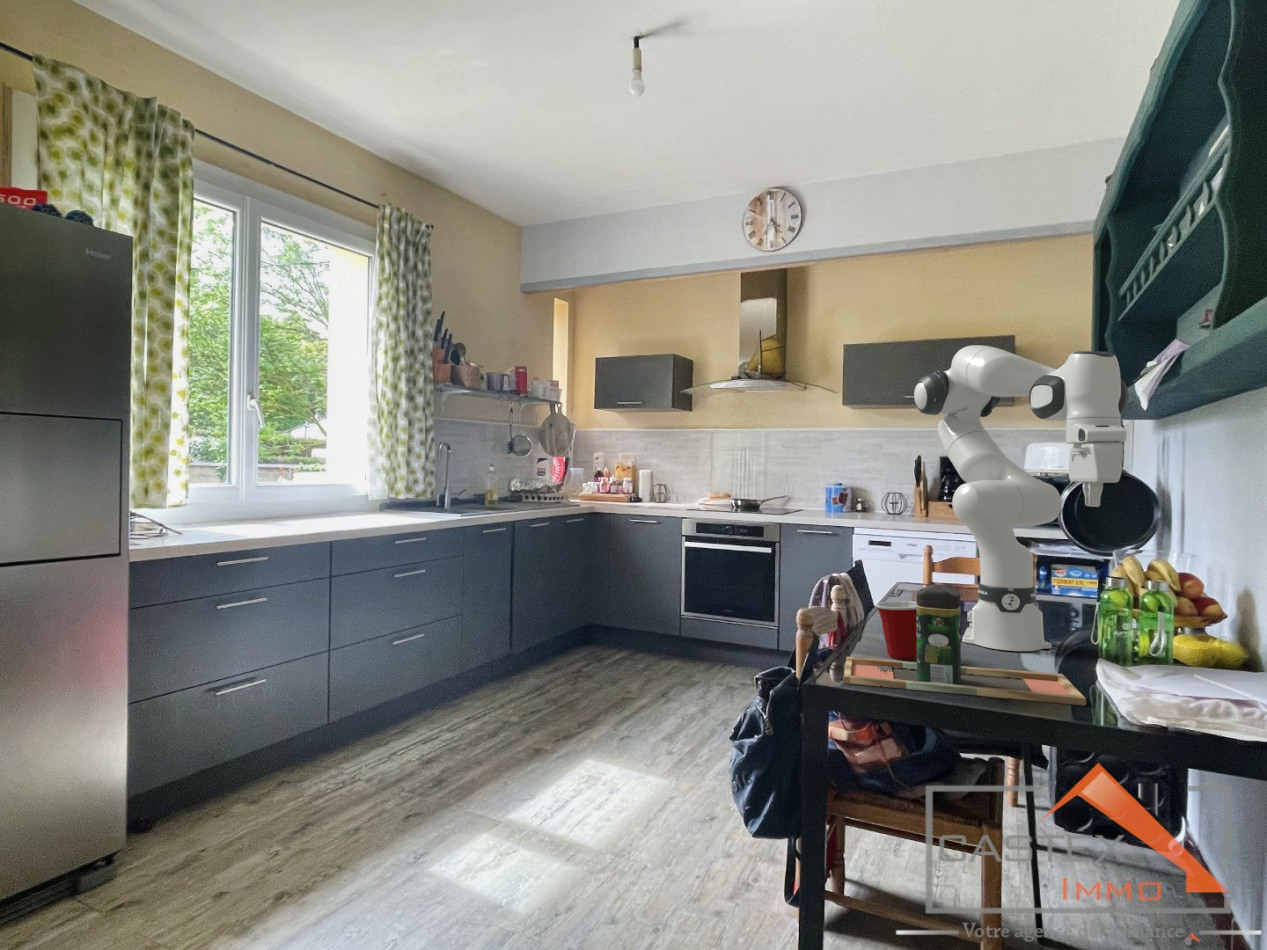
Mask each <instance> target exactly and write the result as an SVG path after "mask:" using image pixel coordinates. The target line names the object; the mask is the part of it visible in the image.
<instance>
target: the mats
mask: <svg viewBox="0 0 1267 950" xmlns="http://www.w3.org/2000/svg"><path fill="white" fill-rule="evenodd" d="M877 668H878V667H877V666H869V665H857V664H852V671H851V675H853V676H865V677H876V678H887V679H895V678H894V676H895V675H894V671H893V672H892V671H891V670H890V671H891V672H889V670H888V671H887V672H885V673H884V672H883V671H881V670H880V668H878V669H879V670H878V669H877ZM880 671H881V672H880ZM886 673H887V674H886ZM1022 681H1023V682H1024V681H1025V682H1024V683H1025V685H1027V687H1028V688H1029V689H1030V690H1029V691H1033V692H1044V693H1055V694H1066V695H1070V694H1069V693H1068V692H1067V691H1066V690H1065V689H1064V688H1063V687H1062V685H1061V684H1060V683H1059V682H1058V681H1047V680H1035V679H1024V678H1023V679H1022Z"/></svg>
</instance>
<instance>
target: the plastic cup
mask: <svg viewBox="0 0 1267 950" xmlns="http://www.w3.org/2000/svg"><path fill="white" fill-rule="evenodd" d="M875 607H876V608H877V610H878V614H879V617H880V618H881V620H880V621H881V626H882V630H883V637H884V641H885V646H886V652H887V655H889V656H890V657H889V656H888V657H889V658H891V657H893V658H892V659H894V658H897V659H896V660H899V659H905V660H904V661H911V659H913V660H916V659H917V601H912V600H909V601H908V600H895V601H893V600H891V601H890V600H889V601H881V602H877V603H876V604H875ZM909 659H910V660H909Z"/></svg>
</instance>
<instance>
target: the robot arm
mask: <svg viewBox="0 0 1267 950" xmlns="http://www.w3.org/2000/svg"><path fill="white" fill-rule="evenodd" d="M1014 397H1015V398H1018V397H1019V398H1020V397H1028V403H1029V408H1030V410H1031V411H1032V413H1033V414H1034V415H1035V416H1036V418H1038V419H1040V420H1046V421H1056V422H1057V421H1059V422H1060V421H1061V422H1062V421H1063V422H1064V421H1065V443H1066V444H1067V445H1069V444H1070V445H1072V446H1071V448H1070V449H1069V450H1070V451H1069V462H1068V477H1069V481H1070V482H1072V483H1082V490H1083V495H1084V505H1085V506H1086V507H1093V508H1095V507H1096V508H1099V507H1100V506H1101V496H1102V495H1103V494H1102V493H1103V490H1104V483H1107V484H1108V483H1109V484H1110V483H1111V484H1112V483H1115V484H1116V483H1118V482H1119V481H1120V480H1121V476H1122V471H1123V470H1122V469H1123V458H1124V457H1123V455H1124V444H1123V443H1124V442H1126V441H1127V437H1128V435H1127V430H1126V429H1125V428H1124V427H1123V426H1122V423H1121V422H1122V421H1121V419H1122V417H1121V415H1122V413H1123V412H1124V411H1125V410H1126V409H1127V407H1128V403H1129V401H1130V394H1129V389H1128V387H1127V385H1126V383H1125V382H1124V381H1123V379H1122V378H1121V369H1120V365H1119V361H1118V358H1117V356H1116V355H1115V354H1114V353H1112V352H1109V351H1095V350H1094V351H1091V350H1090V351H1088V350H1087V351H1085V350H1084V351H1083V350H1078V351H1075V352H1071V354H1069V356H1068V357H1067V359H1066V361H1065V362H1064V363H1063V364H1062V365H1061V366H1060V367H1058V368H1056V367H1055V368H1054V367H1051V366H1048V365H1046V364H1042V363H1039V362H1037V361H1034V360H1031V359H1028V358H1026V357H1023V356H1020V355H1017V354H1015V353H1012V352H1009V351H1007V350H1005V349H1001V348H998V347H993V346H991V345H990V346H989V345H982V344H981V345H980V344H979V345H978V344H977V345H976V344H975V345H974V344H973V345H967V346H965V347H962V348H961V349H959V350H958V351H957V352H956V353H955V354H954V356H953V358H952V360H951V367H949V369H947V370H940V369H936V370H934V371H933V372H931V373H929V374H926V375H925V376H922V377H920V379H918V381H917V382H916V383H915V386H914V388H913V401H914V404H915V407H916V409H917V410H918V411H919V412H920V413H921V414H924V415H931V416H937V415H945V416H944V417H942V419H941V420H940V421H939V422H938V426H937V434H938V438H939V440H940V443H941V444H940V445H942V448H943V451H945V454H946V456H947V457H948V459H949V460H950V462H951V463H952V465H953V467H954V468H955V470H956V472H957V474H958V476H959V477H960V478H961V479H962V481H964V482H965V483H963V484H960V485H959V486H958V487H957V489H955V492H954V493H953V496H952V499H951V500H952V501H951V503H952V504H951V505H952V509H953V513H954V515H955V517H956V518H957V519H958V521H960V522H961V523H962V524H964V525H965V526H966V527H967V529H968V530H969V531H970V532H971V534H972V536H973V538H974V540H975V542H976V545H977V549H978V553H979V569H980V572H979V573H980V582H979V583H978V585H977V586H978V587H977V598H978V601H977V603H976V604H975V605H974V606H973V607H972V609H971V610H969V611H967V615H966V617H967V620H966V621H967V622H969V624H968V627H967V628H966V629H965V632H964V634H963V636H962V638H961V642H963V643H967V644H972V645H977V646H980V647H984V648H988V649H992V650H993V649H994V650H999V651H1001V650H1002V651H1012V652H1035V651H1039V650H1044V649H1052V643H1051V642H1049V641H1047V640H1045V637H1044V620H1043V619H1044V617H1043V612H1042V611H1041V610H1040V609H1039V608H1038V607H1037V606H1036V604H1035V602H1036V596H1037V594H1036V587H1035V586H1034V557H1033V553H1032V552H1031V550H1030V549H1029V548H1027V547H1026V546H1025V545H1023V544H1021V543H1020V542H1019V541H1018V539H1017V537H1016V536H1015V532H1014V527H1037V526H1039V525H1044V524H1048V523H1052V522H1053V521H1055V520H1056V519H1057V517H1058V516H1059V515H1060V512H1061V510H1062V503H1063V502H1062V497H1061V495H1060V492H1059V491H1058V489H1057V488H1056V487H1055V486H1054V485H1052V484H1050V483H1047V482H1045V481H1042V480H1040V479H1038V478H1037V477H1034V476H1033V475H1031V474H1029V473H1028V472H1026V470H1024V469H1022V468H1021V467H1020V466H1019V465H1018V464H1016V463H1014V462H1013V461H1012V460H1010V459H1009V458H1008V457H1007V455H1005V454H1004V453H1003V451H1002V450H1001V449H1000V447H999V446H998V444H997V443H996V442H995V441H994V439H993V438H992V436H991V435H990V433H988V431H987V430H986V428H985V427H984V426H983V423H982V422H981V418H986V417H988V416H990V415H991V413H992V412H993V409H995V408H996V407H997V406H998V404H999V403H1000V402H1001V399H1002V398H1014Z"/></svg>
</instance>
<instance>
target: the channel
mask: <svg viewBox="0 0 1267 950" xmlns="http://www.w3.org/2000/svg"><path fill="white" fill-rule="evenodd" d="M852 664H857V665H870V666H888V667H898V668H908V669H907V670H910V669H916V670H915V671H917V661H907V660H895V659H894V660H891V659H890V660H889V659H882V658H881V659H880V658H879V659H877V658H867V657H855V656H846V659H845V664H844V665H845V666H844V673H843V684H849V685H862V686H871V687H872V686H873V687H880V686H882V687H883V688H891V687H892V688H893V689H894V688H895V689H903V690H904V689H905V690H913V691H924V692H925V691H926V692H933V693H934V692H935V693H936V692H937V693H946V694H947V693H948V694H954V695H955V694H957V695H969V696H980V697H990V698H1001V699H1009V698H1011V699H1012V700H1021V701H1032V702H1033V701H1035V702H1042V703H1043V702H1044V703H1053V704H1055V703H1056V704H1064V705H1065V704H1066V705H1075V706H1076V705H1078V706H1085V705H1086V706H1087V697H1085V696H1084V695H1083V694H1082V693H1081V692H1080V691H1079V690H1078V689H1077V688H1076V686H1074V685H1073V684H1072V682H1070V680H1069V679H1068V678H1067V677H1066V676H1065V675H1064V674H1063V673H1052V672H1041V671H1040V672H1039V671H1029V670H1028V671H1027V670H1026V671H1025V670H1015V669H1003V668H990V667H977V666H965V665H961V673H962V674H961V675H969V674H973V675H972V676H981V675H983V676H982V677H993V678H994V677H995V678H1004V677H1011V678H1010V679H1016V678H1020V679H1019V680H1023V678H1024V679H1035V680H1047V681H1058V682H1059V683H1060V684H1061V685H1062V687H1063V688H1064V689H1065V690H1066V691H1067V692H1068V693H1069V694H1070V695H1066V694H1055V693H1044V692H1033V691H1031V690H1021V689H1020V690H1019V689H1007V688H997V687H985V686H976V685H975V686H974V685H973V686H972V685H965V684H958V685H954V684H943V683H932V682H921V681H919V680H908V679H897V678H896V679H895V678H894V679H887V678H876V677H865V676H853V675H851V671H852ZM898 668H897V669H898ZM882 687H881V688H882ZM892 688H891V689H892Z"/></svg>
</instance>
